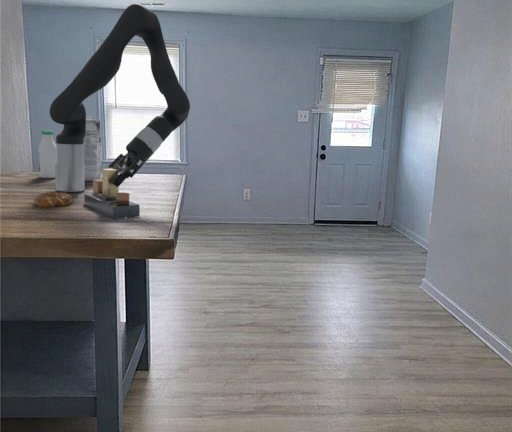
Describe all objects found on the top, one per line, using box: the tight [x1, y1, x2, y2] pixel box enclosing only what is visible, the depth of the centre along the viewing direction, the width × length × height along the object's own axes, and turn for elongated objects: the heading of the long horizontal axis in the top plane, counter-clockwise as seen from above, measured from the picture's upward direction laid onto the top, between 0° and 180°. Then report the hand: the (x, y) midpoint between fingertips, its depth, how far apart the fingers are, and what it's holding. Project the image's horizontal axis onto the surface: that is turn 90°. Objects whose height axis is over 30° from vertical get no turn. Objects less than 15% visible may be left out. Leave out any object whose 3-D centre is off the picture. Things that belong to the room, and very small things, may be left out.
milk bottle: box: [37, 130, 57, 179], centre depth 197 cm, size 8×8×20 cm
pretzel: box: [33, 191, 73, 208], centre depth 145 cm, size 12×11×4 cm
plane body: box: [83, 178, 141, 220], centre depth 140 cm, size 24×8×8 cm, turn 38°
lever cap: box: [101, 168, 119, 198], centre depth 139 cm, size 4×4×9 cm
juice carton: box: [83, 115, 102, 182], centre depth 195 cm, size 9×10×27 cm
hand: (109, 182), depth 139 cm, fingers open, 8 cm apart
